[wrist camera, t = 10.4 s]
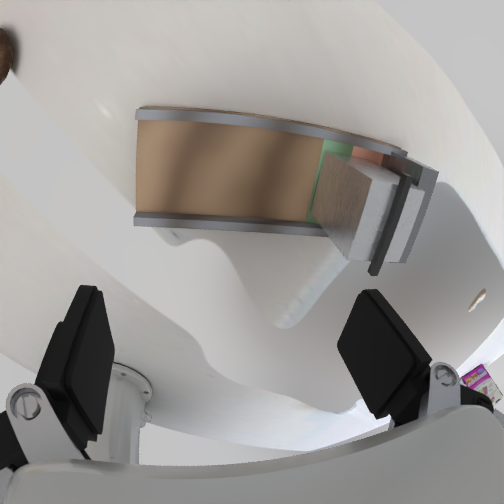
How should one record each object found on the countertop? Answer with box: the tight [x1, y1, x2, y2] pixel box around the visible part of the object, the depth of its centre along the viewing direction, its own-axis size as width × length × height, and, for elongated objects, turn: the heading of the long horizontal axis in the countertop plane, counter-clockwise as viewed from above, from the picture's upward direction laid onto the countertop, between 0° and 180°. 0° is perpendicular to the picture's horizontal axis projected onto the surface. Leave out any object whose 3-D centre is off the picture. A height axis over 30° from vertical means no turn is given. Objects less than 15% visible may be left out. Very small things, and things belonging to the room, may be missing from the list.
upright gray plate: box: [381, 151, 439, 263], centre depth 24 cm, size 2×9×6 cm, turn 171°
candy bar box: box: [460, 364, 503, 406], centre depth 62 cm, size 11×5×16 cm, turn 101°
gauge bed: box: [134, 107, 408, 237], centre depth 24 cm, size 24×10×2 cm, turn 81°
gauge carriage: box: [310, 151, 425, 276], centre depth 22 cm, size 5×8×9 cm, turn 171°
